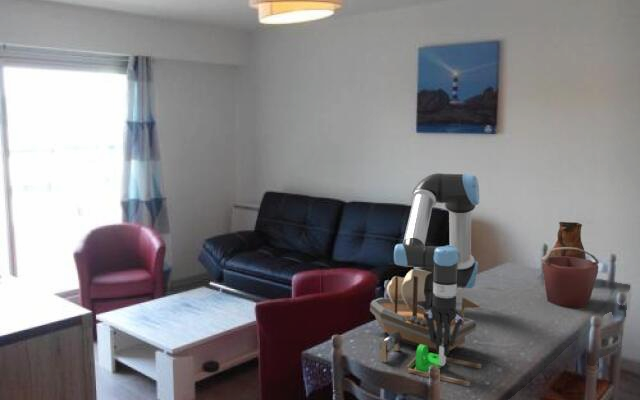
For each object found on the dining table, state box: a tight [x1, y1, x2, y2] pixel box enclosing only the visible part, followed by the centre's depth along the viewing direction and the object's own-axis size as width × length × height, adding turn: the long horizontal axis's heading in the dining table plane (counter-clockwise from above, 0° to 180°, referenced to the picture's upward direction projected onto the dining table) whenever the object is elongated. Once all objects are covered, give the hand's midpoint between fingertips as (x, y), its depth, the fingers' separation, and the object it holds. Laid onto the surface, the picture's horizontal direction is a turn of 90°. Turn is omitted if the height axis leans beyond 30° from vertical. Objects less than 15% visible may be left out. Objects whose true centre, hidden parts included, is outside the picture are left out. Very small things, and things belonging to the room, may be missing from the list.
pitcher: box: [550, 221, 587, 260], centre depth 291 cm, size 17×21×30 cm
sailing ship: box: [369, 268, 481, 353], centre depth 210 cm, size 16×45×27 cm, turn 47°
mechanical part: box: [415, 344, 443, 372], centre depth 191 cm, size 12×6×8 cm, turn 147°
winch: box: [379, 330, 402, 363], centre depth 200 cm, size 4×13×7 cm, turn 151°
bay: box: [405, 352, 482, 387], centre depth 189 cm, size 21×15×2 cm
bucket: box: [540, 247, 600, 309], centre depth 259 cm, size 24×22×25 cm
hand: (442, 364), depth 189 cm, fingers closed
